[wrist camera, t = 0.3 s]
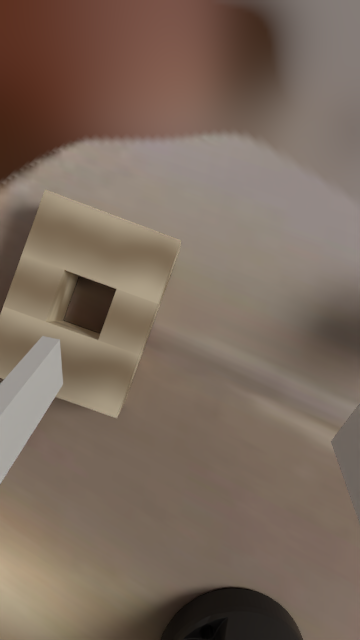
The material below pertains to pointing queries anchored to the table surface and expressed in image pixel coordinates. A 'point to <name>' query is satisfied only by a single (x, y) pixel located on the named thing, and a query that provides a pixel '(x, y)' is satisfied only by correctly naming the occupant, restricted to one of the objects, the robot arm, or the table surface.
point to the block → (57, 289)
